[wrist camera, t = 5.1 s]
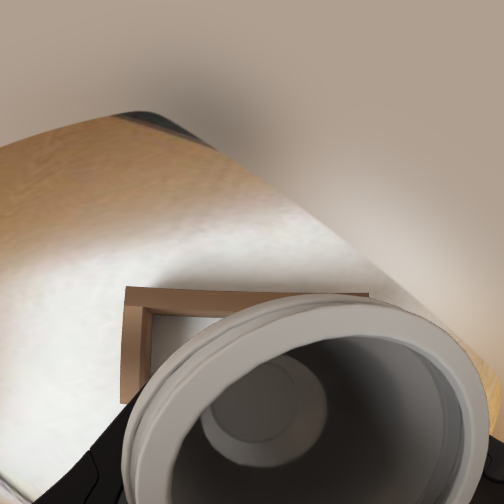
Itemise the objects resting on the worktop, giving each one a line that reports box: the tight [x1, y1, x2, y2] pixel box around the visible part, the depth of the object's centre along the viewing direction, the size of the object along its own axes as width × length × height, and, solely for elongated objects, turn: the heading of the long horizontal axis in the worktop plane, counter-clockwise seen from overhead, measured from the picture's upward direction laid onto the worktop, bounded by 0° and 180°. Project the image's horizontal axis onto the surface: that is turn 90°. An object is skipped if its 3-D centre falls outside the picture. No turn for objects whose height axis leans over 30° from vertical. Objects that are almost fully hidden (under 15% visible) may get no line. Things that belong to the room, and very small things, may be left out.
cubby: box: [120, 286, 369, 404], centre depth 19 cm, size 7×15×3 cm, turn 89°
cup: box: [121, 293, 490, 504], centre depth 9 cm, size 7×7×12 cm
